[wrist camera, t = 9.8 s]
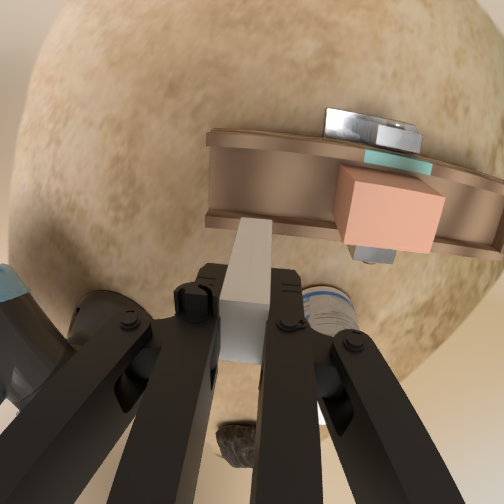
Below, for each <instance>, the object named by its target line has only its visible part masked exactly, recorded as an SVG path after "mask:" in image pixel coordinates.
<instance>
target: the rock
mask: <svg viewBox="0 0 504 504" xmlns="http://www.w3.org/2000/svg"><path fill="white" fill-rule="evenodd" d="M255 436H256V428H255V427H253V426H247V427H246V426H240V425H225V426H223V427H221V428H220V429H219V430H218V431H217V432H216V439H217V443H218V445H219V447H220V451H221V454H222V456H223V457H224V458H225V460H226V461H227V462H228V463H229V464H230V465H231V466H233V467H235V468H253V460H254V449H255Z"/></svg>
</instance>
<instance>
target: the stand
mask: <svg viewBox="0 0 504 504" xmlns="http://www.w3.org/2000/svg"><path fill="white" fill-rule="evenodd" d="M422 136H423V135H421V134H418V133H417V126H413V125H409V124H405V123H403V122H399V121H395V120H390V119H383V118H378V117H374V116H369V115H364V114H358V113H353V112H347V111H341V110H335V109H328V108H326V117H325V126H324V135H323V138H330V139H336V140H343V141H349V142H355V143H361V144H367V145H372V146H377V147H383V148H388V149H392V150H397V151H402V152H406V153H411V154H413V152H415V153H420V148H421V142H422ZM347 247H348V249H349V252H350V254H351V257H352V259H353V260H357V261H362V262H364V263H366V264H375V263H376V262H377V263H387V264H393V261H394V258H395V254H396V251H397V250H393V249H384V248H375V247H366V246H357V245H348V244H347Z"/></svg>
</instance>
